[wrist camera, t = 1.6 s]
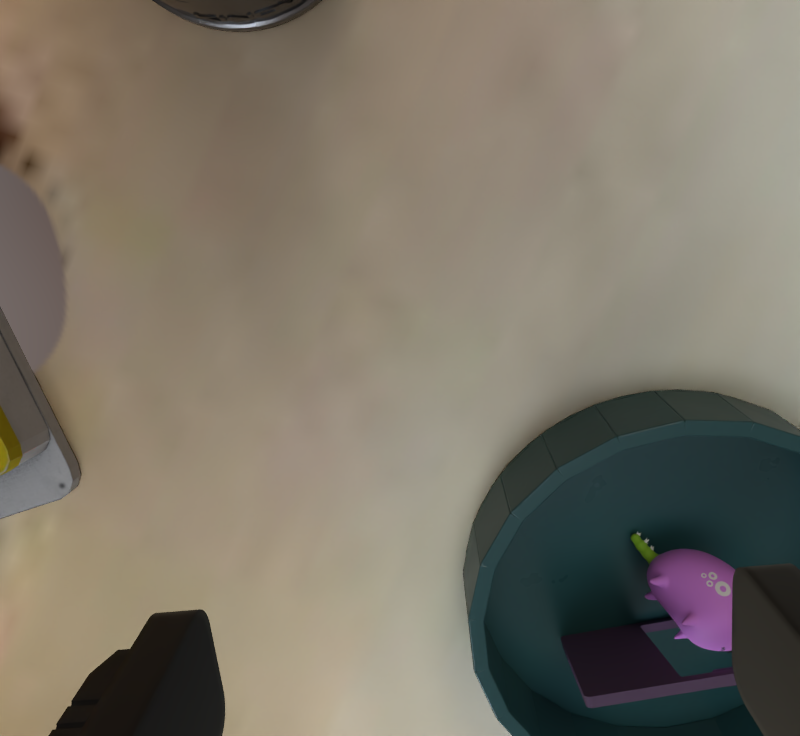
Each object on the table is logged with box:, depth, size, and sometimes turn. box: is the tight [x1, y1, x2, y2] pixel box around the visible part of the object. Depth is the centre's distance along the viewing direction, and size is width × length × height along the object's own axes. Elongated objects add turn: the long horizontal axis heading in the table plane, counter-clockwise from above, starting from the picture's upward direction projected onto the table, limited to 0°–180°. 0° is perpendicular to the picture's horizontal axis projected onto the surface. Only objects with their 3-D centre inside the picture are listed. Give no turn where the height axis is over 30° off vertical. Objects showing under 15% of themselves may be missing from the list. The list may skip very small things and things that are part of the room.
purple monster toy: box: [561, 532, 736, 708], centre depth 27 cm, size 7×5×9 cm
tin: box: [463, 390, 800, 736], centre depth 28 cm, size 16×16×4 cm
